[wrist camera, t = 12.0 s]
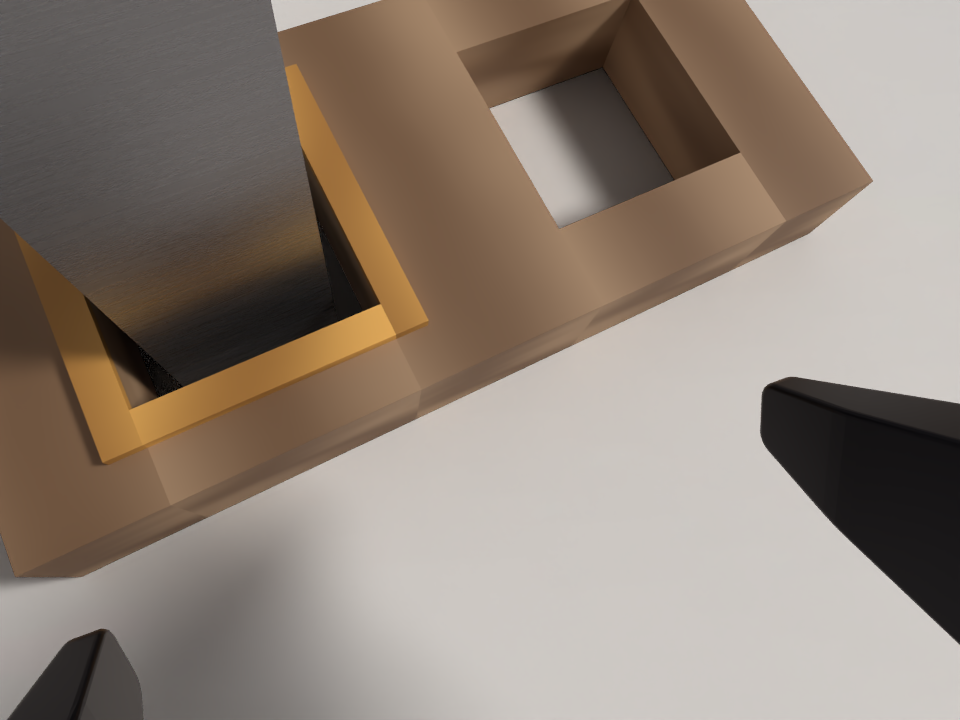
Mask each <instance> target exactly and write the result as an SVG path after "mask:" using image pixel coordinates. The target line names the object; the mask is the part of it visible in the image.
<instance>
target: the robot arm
mask: <svg viewBox="0 0 960 720" xmlns="http://www.w3.org/2000/svg"><path fill="white" fill-rule="evenodd" d="M760 434H761V438H762V441H763V443H764V445H765V447H766V448H767V449H768V451H769V452H770V453H771V454H772V455H773V456H774V458H775V459H776V460H777V461H778V462H779V463H780V464H781V466H782V467H783V468H784V469H785V470H786V471H787V472H788V474H789V475H790V476H791V477H792V478H793V479H794V481H795V482H796V483H797V484H798V485H799V486H800V487H801V489H802V490H803V491H804V492H805V493H806V494H807V495H808V497H809V498H810V499H811V500H812V501H813V502H814V503H815V505H816V506H817V507H818V508H819V509H820V510H821V511H822V513H823V514H824V515H825V516H826V517H827V518H828V519H829V520H830V521H831V522H832V523H833V525H834V526H835V527H836V528H837V529H838V530H839V531H840V532H841V533H842V534H843V535H844V536H845V537H846V538H848V539H849V540H850V541H851V542H852V543H853V544H854V545H855V546H856V547H857V548H858V549H859V550H860V551H861V552H862V553H863V554H864V555H865V556H867V557H868V558H869V559H870V560H871V561H872V562H873V563H874V564H875V565H876V566H877V567H878V568H879V569H880V570H881V571H882V572H883V573H885V574H886V575H887V576H888V577H889V578H890V579H891V580H892V581H893V582H894V583H895V584H896V585H897V586H898V587H899V588H900V589H901V590H902V591H904V592H905V593H906V594H907V595H908V596H909V597H910V598H911V599H912V600H913V601H914V602H915V603H916V604H917V605H918V606H919V607H920V608H922V609H923V610H924V611H925V612H926V613H927V614H928V615H929V616H930V617H931V618H932V619H933V620H934V621H935V622H936V623H937V624H938V625H939V626H941V627H942V628H943V629H944V630H945V631H946V632H947V633H948V634H949V635H950V636H951V637H952V638H953V639H954V640H955V641H956V642H957V643H958V644H960V404H959V403H952V402H946V401H940V400H934V399H928V398H921V397H915V396H909V395H903V394H897V393H891V392H884V391H878V390H872V389H866V388H860V387H853V386H847V385H841V384H835V383H829V382H822V381H816V380H810V379H804V378H798V377H787V378H784V379H781V380H778V381H776V382H773V383H770V384H768V385H767V386H766V387H765V388H764V390H763V392H762V402H761V425H760ZM7 720H143V706H142V694H141V688H140V684H139V680H138V678H137V675H136V673H135V671H134V670H133V668H132V666H131V664H130V663H129V661H128V659H127V657H126V656H125V654H124V652H123V650H122V649H121V647H120V645H119V643H118V642H117V640H116V638H115V637H114V635H113V634H112V633H111V632H110V631H109V630H106V629H99V630H96V631H93V632H91V633H88V634H85V635H82V636H80V637H77V638H74V639H72V640H70V641H68V642H67V643H66V644H65V645H64V646H63V647H62V648H61V650H60V651H59V652H58V653H57V655H56V656H55V657H54V659H53V660H52V661H51V663H50V664H49V665H48V667H47V668H46V669H45V671H44V672H43V673H42V674H41V676H40V677H39V678H38V680H37V681H36V682H35V684H34V685H33V686H32V688H31V689H30V690H29V691H28V693H27V694H26V695H25V697H24V698H23V699H22V701H21V702H20V703H19V705H18V706H17V707H16V709H15V710H14V711H13V712H12V714H11V715H10V716H9V718H8V719H7Z"/></svg>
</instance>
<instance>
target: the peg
mask: <svg viewBox="0 0 960 720" xmlns="http://www.w3.org/2000/svg"><path fill="white" fill-rule="evenodd" d="M0 218H1V219H2V220H3V221H4V222H5V223H6V224H7V225H8V226H9V227H10V228H12V229H13V230H14V231H15V232H16V233H17V234H18V235H19V236H20V237H21V238H22V239H24V240H25V241H26V242H27V243H28V244H29V245H30V246H31V247H32V248H33V249H34V250H36V251H37V252H38V253H39V254H40V255H41V256H42V257H43V258H44V259H45V260H46V261H48V262H49V263H50V264H51V265H52V266H53V267H54V268H55V269H56V270H57V271H58V272H59V273H61V274H62V275H63V276H64V277H65V278H66V279H67V280H68V281H69V282H70V283H71V284H73V285H74V286H75V287H76V288H77V289H78V290H79V291H80V292H81V293H82V294H83V295H85V296H86V297H87V298H88V299H89V300H90V301H91V302H92V303H93V304H94V305H95V306H97V307H98V308H99V309H100V310H101V311H102V312H103V313H104V314H105V315H106V316H107V317H109V318H110V319H111V320H112V321H113V322H114V323H115V324H116V325H117V326H118V327H119V328H121V329H122V330H123V331H124V332H125V333H126V334H127V335H128V336H129V337H130V338H131V339H133V340H134V341H135V342H136V343H137V344H138V345H139V346H140V347H141V348H142V349H143V350H145V351H146V352H147V353H148V354H149V355H150V356H151V357H152V358H153V359H154V360H155V361H157V362H158V363H159V364H160V365H161V366H162V367H163V368H164V369H165V370H166V371H167V372H169V373H170V374H171V375H172V376H173V377H174V378H175V379H176V380H177V381H178V382H179V383H181V384H182V385H183V386H184V387H185V386H187V385H190V384H192V383H194V382H197V381H199V380H202V379H204V378H206V377H209V376H211V375H213V374H216V373H218V372H221V371H223V370H225V369H228V368H230V367H232V366H235V365H237V364H239V363H242V362H244V361H247V360H249V359H251V358H254V357H256V356H258V355H261V354H263V353H266V352H268V351H270V350H273V349H275V348H277V347H280V346H282V345H285V344H287V343H289V342H292V341H294V340H296V339H299V338H301V337H303V336H306V335H308V334H311V333H313V332H315V331H318V330H320V329H322V328H325V327H327V326H330V325H332V324H334V323H337V322H338V321H337V316H336V311H335V306H334V302H333V297H332V292H331V287H330V282H329V278H328V273H327V268H326V263H325V258H324V254H323V249H322V244H321V239H320V234H319V230H318V225H317V220H316V215H315V210H314V206H313V201H312V196H311V191H310V186H309V182H308V177H307V172H306V167H305V163H304V158H303V153H302V148H301V143H300V139H299V134H298V129H297V124H296V119H295V115H294V110H293V105H292V100H291V95H290V91H289V86H288V81H287V76H286V71H285V67H284V62H283V57H282V52H281V47H280V43H279V38H278V33H277V28H276V23H275V19H274V14H273V9H272V4H271V0H0Z"/></svg>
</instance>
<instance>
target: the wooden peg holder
mask: <svg viewBox="0 0 960 720" xmlns="http://www.w3.org/2000/svg"><path fill="white" fill-rule="evenodd" d="M277 33H278V38H279V43H280V47H281V52H282V57H283V62H284V67H285V71H286V76H287V81H288V86H289V91H290V95H291V100H292V105H293V110H294V115H295V119H296V124H297V129H298V134H299V139H300V143H301V148H302V153H303V158H304V163H305V167H306V172H307V177H308V182H309V186H310V191H311V196H312V201H313V206H314V210H315V215H316V217H317V219H318V221H319V223H320V225H321V227H322V229H323V231H324V233H325V235H326V237H327V239H328V241H329V243H330V245H331V247H332V249H333V251H334V253H335V255H336V257H337V259H338V261H339V263H340V265H341V267H342V269H343V271H344V273H345V275H346V277H347V279H348V281H349V283H350V285H351V288H352V290H353V292H354V294H355V296H356V298H357V300H358V302H359V304H360V306H361V308H362V310H363V312H360V313H358V314H356V315H353V316H351V317H349V318H346V319H344V320H341V321H339V322H337V323H334V324H332V325H330V326H327V327H325V328H322V329H320V330H318V331H315V332H313V333H311V334H308V335H306V336H303V337H301V338H299V339H296V340H294V341H292V342H289V343H287V344H285V345H282V346H280V347H277V348H275V349H273V350H270V351H268V352H266V353H263V354H261V355H258V356H256V357H254V358H251V359H249V360H247V361H244V362H242V363H239V364H237V365H235V366H232V367H230V368H228V369H225V370H223V371H221V372H218V373H216V374H213V375H211V376H209V377H206V378H204V379H202V380H199V381H197V382H194V383H192V384H190V385H187V386H185V387H183V388H180V389H178V390H175V391H173V392H171V393H168V394H166V395H164V396H161V397H158V395H157V392H156V390H155V387H154V385H153V382H152V380H151V378H150V375H149V373H148V370H147V368H146V365H145V363H144V360H143V358H142V356H141V353H140V351H139V348H138V346H137V343H136V342H135V341H134V340H133V339H131V338H130V337H129V336H128V335H127V334H126V333H125V332H124V331H123V330H122V329H121V328H119V327H118V326H117V325H116V324H115V323H114V322H113V321H112V320H111V319H110V318H109V317H107V316H106V315H105V314H104V313H103V312H102V311H101V310H100V309H99V308H98V307H97V306H95V305H94V304H93V303H92V302H91V301H90V300H89V299H88V298H87V297H86V296H85V295H83V294H82V293H81V292H80V291H79V290H78V289H77V288H76V287H75V286H74V285H73V284H71V283H70V282H69V281H68V280H67V279H66V278H65V277H64V276H63V275H62V274H61V273H59V272H58V271H57V270H56V269H55V268H54V267H53V266H52V265H51V264H50V263H49V262H48V261H46V260H45V259H44V258H43V257H42V256H41V255H40V254H39V253H38V252H37V251H36V250H34V249H33V248H32V247H31V246H30V245H29V244H28V243H27V242H26V241H25V240H24V239H22V238H21V237H20V236H19V235H18V234H17V233H16V232H15V231H14V230H13V229H12V228H10V227H9V226H8V225H7V224H6V223H5V222H4V221H3V220H2V219H1V218H0V534H1V537H2V540H3V543H4V546H5V548H6V551H7V554H8V557H9V560H10V563H11V566H12V569H13V572H14V575H15V577H82V576H84V575H87V574H89V573H91V572H93V571H95V570H97V569H99V568H101V567H103V566H106V565H108V564H110V563H112V562H114V561H116V560H118V559H120V558H123V557H125V556H127V555H129V554H131V553H133V552H135V551H137V550H140V549H142V548H144V547H146V546H148V545H150V544H152V543H154V542H156V541H159V540H161V539H163V538H165V537H167V536H169V535H171V534H173V533H176V532H178V531H180V530H182V529H184V528H186V527H188V526H190V525H192V524H195V523H197V522H199V521H201V520H203V519H205V518H207V517H209V516H212V515H214V514H216V513H218V512H220V511H222V510H224V509H226V508H229V507H231V506H233V505H235V504H237V503H239V502H241V501H243V500H245V499H248V498H250V497H252V496H254V495H256V494H258V493H260V492H262V491H265V490H267V489H269V488H271V487H273V486H275V485H277V484H279V483H281V482H284V481H286V480H288V479H290V478H292V477H294V476H296V475H298V474H301V473H303V472H305V471H307V470H309V469H311V468H313V467H315V466H317V465H320V464H322V463H324V462H326V461H328V460H330V459H332V458H334V457H337V456H339V455H341V454H343V453H345V452H347V451H349V450H351V449H354V448H356V447H358V446H360V445H362V444H364V443H366V442H368V441H370V440H373V439H375V438H377V437H379V436H381V435H383V434H385V433H387V432H390V431H392V430H394V429H396V428H398V427H400V426H402V425H404V424H406V423H409V422H411V421H413V420H415V419H417V418H419V417H421V416H423V415H426V414H428V413H430V412H432V411H434V410H436V409H438V408H440V407H443V406H445V405H447V404H449V403H451V402H453V401H455V400H457V399H459V398H462V397H464V396H466V395H468V394H470V393H472V392H474V391H476V390H479V389H481V388H483V387H485V386H487V385H489V384H491V383H493V382H495V381H498V380H500V379H502V378H504V377H506V376H508V375H510V374H512V373H515V372H517V371H519V370H521V369H523V368H525V367H527V366H529V365H531V364H534V363H536V362H538V361H540V360H542V359H544V358H546V357H548V356H551V355H553V354H555V353H557V352H559V351H561V350H563V349H565V348H568V347H570V346H572V345H574V344H576V343H578V342H580V341H582V340H584V339H587V338H589V337H591V336H593V335H595V334H597V333H599V332H601V331H604V330H606V329H608V328H610V327H612V326H614V325H616V324H618V323H620V322H623V321H625V320H627V319H629V318H631V317H633V316H635V315H637V314H640V313H642V312H644V311H646V310H648V309H650V308H652V307H654V306H657V305H659V304H661V303H663V302H665V301H667V300H669V299H671V298H673V297H676V296H678V295H680V294H682V293H684V292H686V291H688V290H690V289H693V288H695V287H697V286H699V285H701V284H703V283H705V282H707V281H709V280H712V279H714V278H716V277H718V276H720V275H722V274H724V273H726V272H729V271H731V270H733V269H735V268H737V267H739V266H741V265H743V264H745V263H748V262H750V261H752V260H754V259H756V258H758V257H760V256H762V255H765V254H767V253H769V252H771V251H773V250H775V249H777V248H779V247H782V246H784V245H786V244H788V243H790V242H792V241H794V240H796V239H798V238H801V237H803V236H805V235H807V234H809V233H810V232H811V231H813V230H814V229H815V228H816V227H818V226H819V225H820V224H821V223H822V222H824V221H825V220H826V219H827V218H829V217H830V216H831V215H832V214H833V213H835V212H836V211H837V210H838V209H840V208H841V207H842V206H843V205H844V204H846V203H847V202H848V201H849V200H851V199H852V198H853V197H854V196H855V195H857V194H858V193H859V192H860V191H862V190H863V189H864V188H865V187H866V186H868V185H869V184H870V183H871V182H873V180H872V179H871V177H870V176H869V174H868V173H867V172H866V170H865V169H864V167H863V166H862V165H861V163H860V162H859V160H858V159H857V158H856V156H855V155H854V153H853V152H852V150H851V149H850V148H849V146H848V145H847V143H846V142H845V141H844V139H843V138H842V136H841V135H840V134H839V132H838V131H837V129H836V128H835V127H834V125H833V124H832V122H831V121H830V119H829V118H828V117H827V115H826V114H825V112H824V111H823V110H822V108H821V107H820V105H819V104H818V103H817V101H816V100H815V98H814V97H813V96H812V94H811V93H810V91H809V90H808V88H807V87H806V86H805V84H804V83H803V81H802V80H801V79H800V77H799V76H798V74H797V73H796V72H795V70H794V69H793V67H792V66H791V65H790V63H789V62H788V60H787V59H786V57H785V56H784V55H783V53H782V52H781V50H780V49H779V48H778V46H777V45H776V43H775V42H774V41H773V39H772V38H771V36H770V35H769V34H768V32H767V31H766V29H765V28H764V27H763V25H762V24H761V22H760V21H759V19H758V18H757V17H756V15H755V14H754V12H753V11H752V10H751V8H750V7H749V5H748V4H747V3H746V1H745V0H381V1H378V2H375V3H372V4H368V5H365V6H362V7H359V8H355V9H352V10H349V11H346V12H342V13H339V14H336V15H333V16H329V17H326V18H323V19H319V20H316V21H313V22H310V23H306V24H303V25H300V26H297V27H293V28H290V29H287V30H284V31H280V32H277ZM601 67H603V68H604V70H605V71H606V73H607V75H608V76H609V78H610V79H611V81H612V82H613V84H614V86H615V87H616V89H617V90H618V92H619V93H620V95H621V97H622V98H623V100H624V101H625V103H626V104H627V106H628V108H629V109H630V111H631V112H632V114H633V115H634V117H635V119H636V120H637V122H638V123H639V125H640V126H641V128H642V130H643V131H644V133H645V134H646V136H647V137H648V139H649V141H650V142H651V144H652V145H653V147H654V148H655V150H656V152H657V153H658V155H659V156H660V158H661V159H662V161H663V163H664V164H665V166H666V167H667V169H668V170H669V172H670V174H671V175H672V177H673V178H674V181H672V182H669V183H667V184H665V185H662V186H660V187H658V188H655V189H653V190H651V191H648V192H646V193H643V194H641V195H639V196H636V197H634V198H632V199H629V200H627V201H624V202H622V203H620V204H617V205H615V206H613V207H610V208H608V209H605V210H603V211H601V212H598V213H596V214H594V215H591V216H589V217H587V218H584V219H582V220H579V221H577V222H575V223H572V224H570V225H568V226H565V227H563V228H560V229H559V228H558V226H557V224H556V223H555V221H554V219H553V218H552V216H551V214H550V212H549V211H548V209H547V207H546V206H545V204H544V202H543V200H542V199H541V197H540V195H539V194H538V192H537V190H536V188H535V187H534V185H533V183H532V181H531V180H530V178H529V176H528V175H527V173H526V171H525V169H524V168H523V166H522V164H521V163H520V161H519V159H518V157H517V156H516V154H515V152H514V151H513V149H512V147H511V145H510V144H509V142H508V140H507V139H506V137H505V135H504V133H503V132H502V130H501V128H500V126H499V125H498V123H497V121H496V120H495V118H494V116H493V114H492V113H491V111H490V109H489V108H491V107H494V106H496V105H499V104H502V103H505V102H507V101H510V100H513V99H516V98H518V97H521V96H524V95H527V94H529V93H532V92H535V91H538V90H540V89H543V88H546V87H549V86H551V85H554V84H557V83H560V82H562V81H565V80H568V79H571V78H574V77H576V76H579V75H582V74H585V73H587V72H590V71H593V70H596V69H598V68H601Z"/></svg>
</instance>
